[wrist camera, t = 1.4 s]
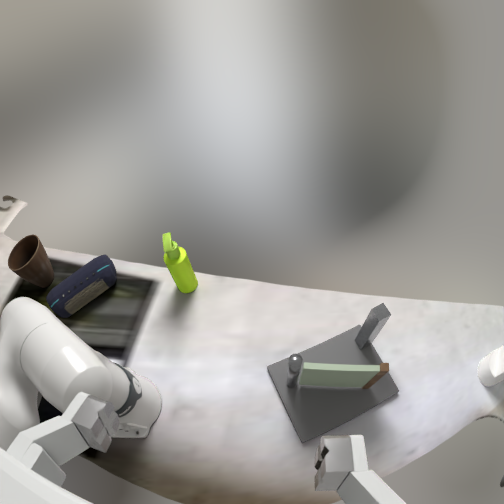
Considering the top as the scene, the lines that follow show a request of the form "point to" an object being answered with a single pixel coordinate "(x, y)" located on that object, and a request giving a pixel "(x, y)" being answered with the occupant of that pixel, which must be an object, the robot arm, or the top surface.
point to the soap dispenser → (179, 265)
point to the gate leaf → (342, 374)
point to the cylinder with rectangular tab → (492, 368)
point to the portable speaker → (82, 286)
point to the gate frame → (333, 398)
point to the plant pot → (31, 262)
